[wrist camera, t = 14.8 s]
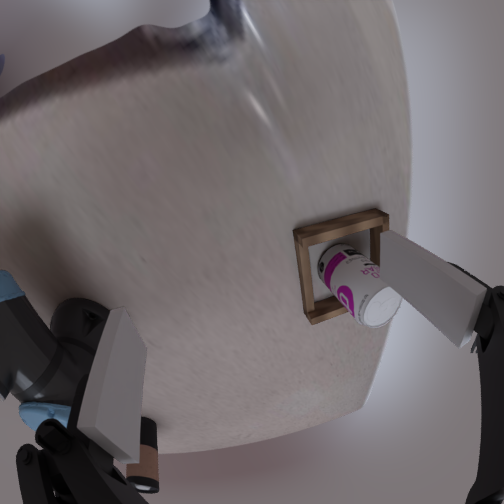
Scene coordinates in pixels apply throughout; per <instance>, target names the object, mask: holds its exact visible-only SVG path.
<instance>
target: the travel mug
mask: <svg viewBox="0 0 504 504" xmlns="http://www.w3.org/2000/svg"><path fill="white" fill-rule="evenodd" d="M126 475H127V476H126V479H127V480H128V482H129V483H130V484H131V485H132V486H133V487H134V488H135V490H136V491H137V492H140V493H150V494H152V493H158V492H159V477H158V447H157V427H156V423H155V422H154V421H153V420H151V419H148V418H145V417H141V425H140V458H139V463H132V464H127V470H126Z"/></svg>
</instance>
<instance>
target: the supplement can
mask: <svg viewBox="0 0 504 504" xmlns="http://www.w3.org/2000/svg"><path fill="white" fill-rule="evenodd" d="M318 273H319V277H320V279H321V280H322V281H323V283H324V284H325V285H326V286H327V287H328V288H329V289H330V291H331V292H332V293H333V294H334V295H335V296H336V297H337V299H338V300H339V301H340V302H341V303H342V304H343V305H344V307H345V308H346V309H347V310H348V311H349V312H350V314H351V315H352V316H353V317H354V318H355V319H356V321H357V322H358V323H359V324H362V325H364V326H368V327H370V328H378V327H381V326H383V325H385V324H386V323H388V322H389V321H390V320H391V319H392V318H393V317H394V316H395V315H396V313H397V312H398V310H399V308H400V305H401V303H402V297H401V296H400V295H399V294H398V293H397V292H396V291H394V290H393V289H392V288H391V287H390V286H388V285H387V284H386V283H385V282H384V281H382V280H381V279H380V278H379V277H380V268H379V267H378V266H377V265H376V264H374V263H373V262H372V261H370V260H369V259H368V258H366V257H365V256H364V255H362V254H361V253H360V252H358V251H357V250H356V249H354V248H353V247H351V246H350V245H347V244H339V245H335V246H333V247H332V248H330V249H328V250H327V252H326V253H325V254H324V255H323V256H322V258H321V260H320V262H319V267H318Z"/></svg>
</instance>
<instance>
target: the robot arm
mask: <svg viewBox="0 0 504 504" xmlns="http://www.w3.org/2000/svg"><path fill="white" fill-rule="evenodd" d="M379 278H380V279H381V280H382V281H384V282H385V283H386V284H387V285H388V286H390V287H391V288H392V289H393V290H394V291H396V292H397V293H398V294H399V295H400V296H401V297H403V298H404V299H405V300H406V301H407V302H409V303H410V304H411V305H412V306H413V307H414V308H415V309H417V310H418V311H419V312H420V313H421V314H422V315H423V316H424V317H425V318H427V319H428V320H429V321H430V322H431V323H432V324H433V325H434V326H435V327H437V328H438V329H439V330H440V331H441V332H442V333H443V334H444V335H445V336H446V337H447V338H448V339H449V340H450V341H451V342H453V343H454V344H455V345H456V346H457V347H458V348H461V347H462V346H463V345H465V344H466V343H467V342H469V341H470V338H471V336H472V333H473V330H474V331H475V332H477V333H478V334H477V336H476V339H475V341H474V343H473V346H472V348H471V353H473V351H474V349H475V347H476V346H477V350H476V353H478V361H479V370H480V383H481V404H482V405H481V406H482V419H481V420H482V422H481V444H480V456H479V464H478V472H477V477H476V481H475V483H474V484H473V486H472V488H471V489H470V491H469V493H468V496H467V499H466V503H465V504H501V503H502V501H503V500H504V286H496V287H494V288H493V289H492V288H491V287H489V286H488V285H487V284H485V283H483V282H482V281H481V280H479V279H478V278H476V277H475V276H473V275H470V273H468V272H467V271H464V269H462V268H461V267H459V266H457V265H455V264H452V263H449V262H446V261H444V260H443V259H441V258H440V257H438V256H436V255H435V254H433V253H431V252H430V251H428V250H426V249H424V248H423V247H421V246H419V245H418V244H416V243H414V242H412V241H410V240H409V239H407V238H405V237H404V236H402V235H400V234H398V233H396V232H394V231H393V230H388V231H385V232H382V233H380V277H379ZM146 355H147V347H146V345H145V344H144V342H143V340H142V338H141V337H140V335H139V333H138V331H137V329H136V328H135V326H134V324H133V322H132V320H131V318H130V316H129V315H128V313H127V311H126V309H125V307H120V308H116V309H112V310H111V311H108V310H107V309H106V308H104V307H103V306H101V305H99V304H97V303H95V302H93V301H90V300H87V299H81V298H73V299H69V300H66V301H64V302H62V303H61V304H60V305H59V306H58V307H57V309H56V311H55V312H54V314H53V316H52V319H51V323H50V330H49V328H48V327H47V326H46V324H45V323H44V322H43V320H42V319H41V318H40V316H39V315H38V313H37V312H36V311H35V309H34V308H33V306H32V305H31V303H30V302H29V300H28V299H27V297H26V296H25V292H24V291H22V290H21V289H20V287H19V286H18V284H17V283H16V281H15V280H14V278H13V277H12V275H11V274H10V273H9V272H7V271H5V270H0V401H4V400H5V399H6V397H7V395H8V394H9V392H11V394H12V395H14V396H15V397H16V398H17V399H18V400H19V401H20V402H21V405H20V406H19V414H20V417H21V418H22V420H23V422H24V423H25V424H26V425H28V426H29V427H30V428H31V429H33V430H34V431H36V434H35V440H36V443H37V444H38V445H40V446H41V447H42V448H43V449H42V450H38V449H37V448H35V447H34V446H33V445H31V444H24V445H23V446H21V447H20V449H19V450H18V452H17V455H16V465H17V472H18V479H19V485H20V490H21V495H22V500H23V504H149V503H148V502H147V501H145V499H144V498H143V497H142V496H141V495H140V494H139V493H138V492H137V491H136V490H135V488H134V487H133V486H132V485H131V484H130V483H129V482H128V480H127V479H126V478H125V477H124V476H123V475H122V473H121V472H120V471H119V470H118V469H117V468H116V467H115V466H114V465H113V458H115V459H116V460H118V461H119V462H121V463H124V464H132V463H139V458H140V425H141V408H142V394H143V383H144V373H145V363H146ZM53 491H55V495H54V492H53ZM55 496H56V497H55Z"/></svg>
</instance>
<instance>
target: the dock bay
mask: <svg viewBox="0 0 504 504" xmlns="http://www.w3.org/2000/svg"><path fill="white" fill-rule="evenodd" d="M366 229H370V261H372V262H373V263H374V264H376V265H377V266H378V267H379V268H380V233H382V232H385V231H388V230H389V214H387V213H385V212H383V211H381V210H378V209H376V208H375V209H371V210H367V211H364V212H360V213H356V214H352V215H348V216H345V217H341V218H337V219H333V220H329V221H326V222H322V223H318V224H315V225H311V226H307V227H303V228H300V229H296V230H293V236H294V242H295V249H296V256H297V263H298V270H299V278H300V285H301V293H302V301H303V309H304V314H305V315H306V317H307V318H308V320H309V322H310V323H311V325H314V324H317V323H320V322H322V321H325V320H328V319H331V318H333V317H336V316H338V315H341V314H344V313H346V312H349V311H348V310H347V309H346V308H345V307H344V305H343V304H342V303H341V302H340V301H339V300H338V299H337V297H336V296H333V297H330V298H328V299H325V300H322V301H319V302H316V303H314V298H313V287H312V278H311V269H310V260H309V252H308V246H312V245H315V244H319V243H322V242H326V241H329V240H332V239H336V238H339V237H343V236H346V235H349V234H353V233H356V232H360V231H363V230H366Z"/></svg>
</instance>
